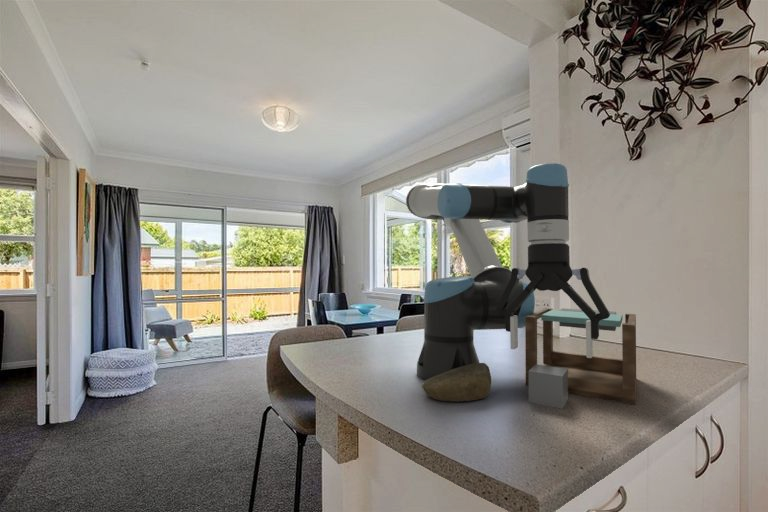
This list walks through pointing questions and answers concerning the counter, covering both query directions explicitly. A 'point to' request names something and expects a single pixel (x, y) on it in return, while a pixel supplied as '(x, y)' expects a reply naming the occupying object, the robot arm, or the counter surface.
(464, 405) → the counter surface
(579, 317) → the trapdoor
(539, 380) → the gray cube
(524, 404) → the counter surface
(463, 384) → the stone
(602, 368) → the frame
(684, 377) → the counter surface
